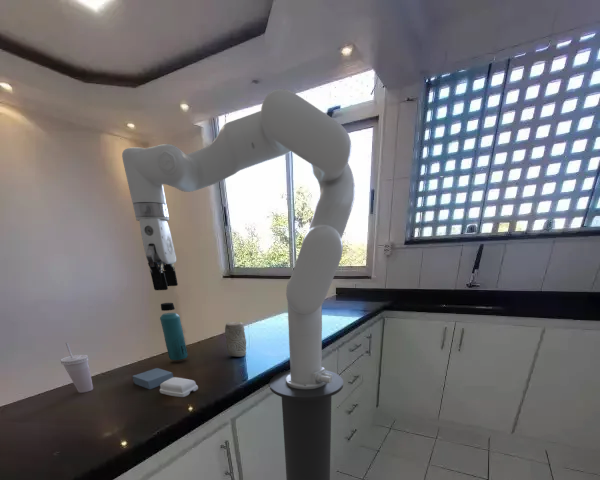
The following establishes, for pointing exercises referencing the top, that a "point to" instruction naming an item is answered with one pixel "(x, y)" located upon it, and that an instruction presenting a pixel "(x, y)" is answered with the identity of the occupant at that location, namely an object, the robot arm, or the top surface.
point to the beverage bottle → (173, 333)
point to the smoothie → (78, 370)
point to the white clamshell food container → (178, 387)
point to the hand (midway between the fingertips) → (166, 287)
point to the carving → (235, 339)
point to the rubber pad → (152, 378)
